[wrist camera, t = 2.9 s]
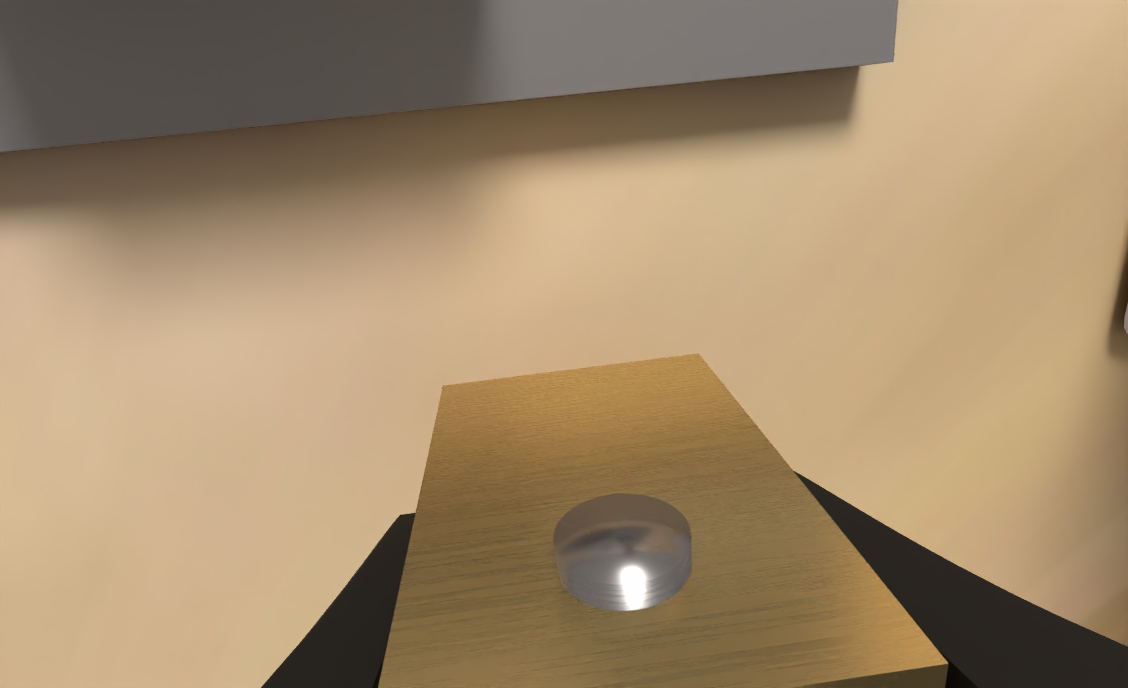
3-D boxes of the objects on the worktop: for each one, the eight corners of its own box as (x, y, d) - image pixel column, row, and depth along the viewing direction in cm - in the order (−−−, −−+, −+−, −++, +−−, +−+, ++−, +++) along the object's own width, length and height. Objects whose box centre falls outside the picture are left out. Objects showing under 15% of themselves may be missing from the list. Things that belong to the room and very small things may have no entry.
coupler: (698, 336, 10) (953, 629, 4) (703, 575, 12) (895, 1015, 6) (440, 367, 10) (355, 719, 4) (482, 606, 11) (463, 1094, 6)
